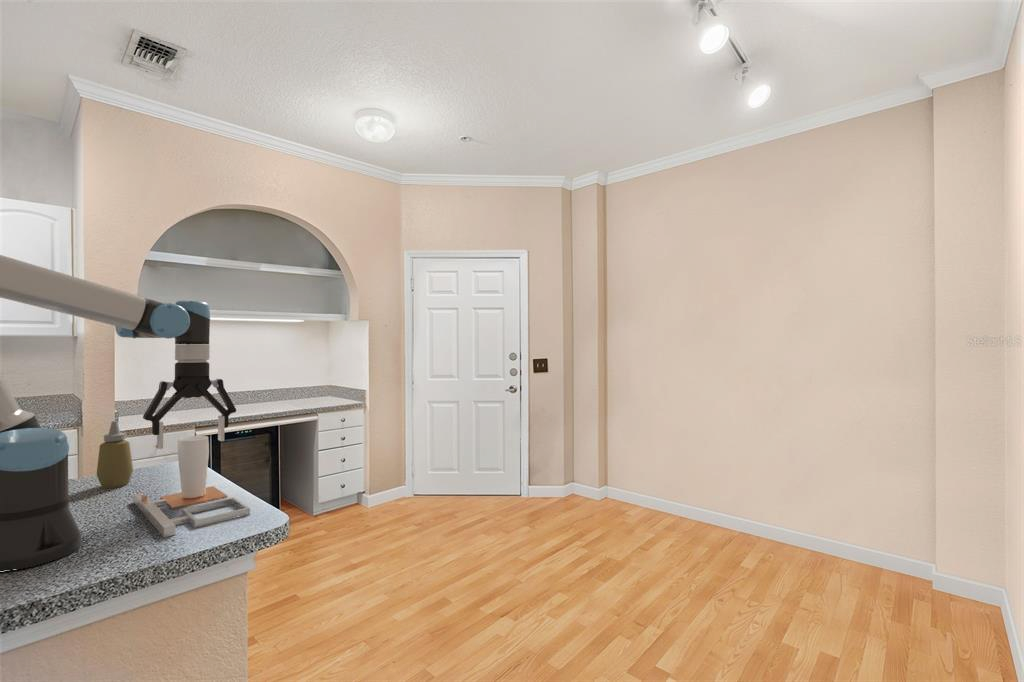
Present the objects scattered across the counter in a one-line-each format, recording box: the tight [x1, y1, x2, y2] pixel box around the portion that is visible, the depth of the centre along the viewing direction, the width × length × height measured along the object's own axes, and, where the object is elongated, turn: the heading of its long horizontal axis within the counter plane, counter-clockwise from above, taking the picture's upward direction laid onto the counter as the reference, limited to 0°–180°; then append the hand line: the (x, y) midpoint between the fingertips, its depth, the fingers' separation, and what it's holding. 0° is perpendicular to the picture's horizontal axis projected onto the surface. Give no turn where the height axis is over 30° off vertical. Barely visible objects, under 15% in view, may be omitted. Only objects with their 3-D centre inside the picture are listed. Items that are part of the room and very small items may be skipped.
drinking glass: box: [177, 435, 210, 499], centre depth 129 cm, size 7×7×15 cm
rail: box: [133, 486, 251, 538], centre depth 121 cm, size 32×18×3 cm, turn 46°
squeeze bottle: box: [96, 420, 134, 489], centre depth 141 cm, size 8×8×18 cm
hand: (191, 444), depth 129 cm, fingers open, 13 cm apart
